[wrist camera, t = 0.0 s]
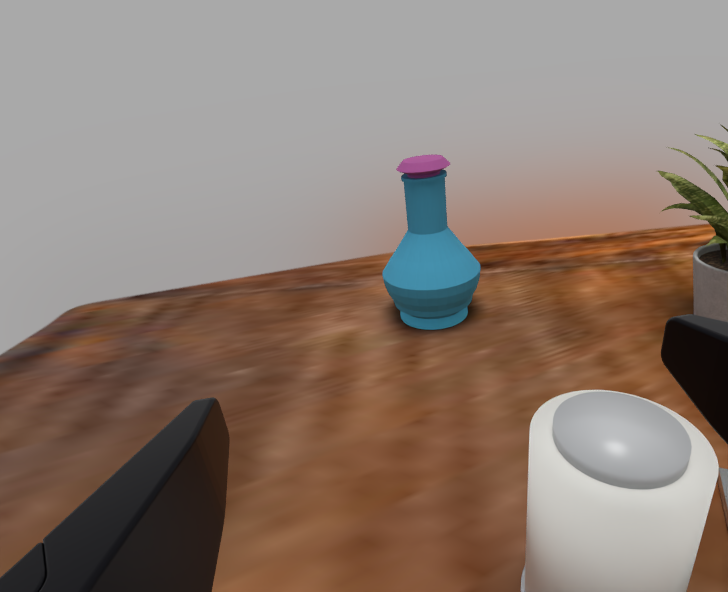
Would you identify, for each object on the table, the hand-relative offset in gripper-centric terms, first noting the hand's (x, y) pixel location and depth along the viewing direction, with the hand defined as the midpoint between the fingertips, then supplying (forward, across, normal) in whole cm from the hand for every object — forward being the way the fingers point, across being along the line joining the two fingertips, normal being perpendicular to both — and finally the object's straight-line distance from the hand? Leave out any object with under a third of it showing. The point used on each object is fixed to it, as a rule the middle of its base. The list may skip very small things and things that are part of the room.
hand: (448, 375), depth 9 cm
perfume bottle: (+33, -7, +17) cm, 37 cm away
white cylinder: (+4, -6, +17) cm, 18 cm away
